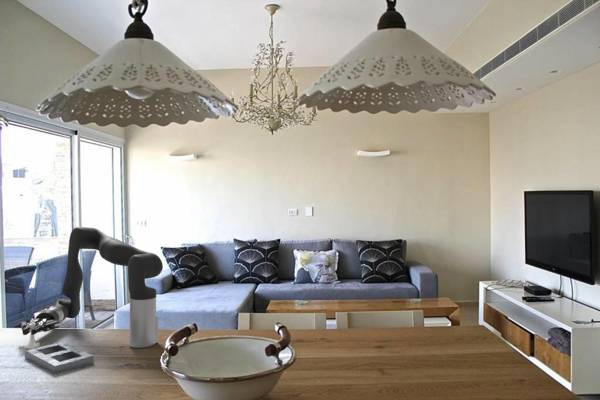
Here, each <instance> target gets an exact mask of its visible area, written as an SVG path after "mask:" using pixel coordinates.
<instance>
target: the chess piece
mask: <svg viewBox="0 0 600 400" xmlns="http://www.w3.org/2000/svg"><path fill="white" fill-rule="evenodd" d="M29 321H30V322H31V324H29V326H30V329H31V330H32V328H34V327H35V325H36V324H35V323H33V321H35V319H34V318H31V319H30V320H29ZM30 322H29V323H30ZM31 330H29V332H30V333H29V334H30V336H29V341H28V343H25V344H24V346H23V348H24V349H26V350H29V349H33V348H38V347H41V344H40V342H37V341H36V338H35V334H34V335H31Z"/></svg>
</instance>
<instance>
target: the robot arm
mask: <svg viewBox="0 0 600 400" xmlns="http://www.w3.org/2000/svg"><path fill="white" fill-rule="evenodd" d="M81 250H97V251H98V252H99V256H100V257H101V258H102V259H103V260H104V261H106V262H109V263H111V264H114V265H117V266H122V267H123V266H124V267H127V284H128V285H127V286H128V291H129V326H128V327H129V333H128V334H129V335H128V339H129V340H128V345H129V347H131V348H137V349H138V348H139V349H140V348H149V347H152V346H154V345H155V344H156V343H157V342H158V343H159V317H158V316H157V289H156V288H154V287H150V286H147V285H146V280H147V279H152V278H156V277H158V276H159V275H160V274H161V273H162V271H163V265H164V264H163V261H162V259H161V258H160V256H159V255H158V254H156V253H154V252H150V251H145V250H142V249H139V248H137V247H135V246H133V245H131V244H128V243H126V242H124V241H122V240H119V239H118V238H114V237H112V236H108V235H106V233H104V232H102V231H101V230H100V229H98V228H95V227H86V226H85V227H84V226H75V227H74V228H73V229H72V230H71V232H70V235H69V240H68V249H67V258H66V259H67V261H66V272H65V277H64V280H63V283H62V284H63V285H62V288H61V295H63V296H65V297H67V298H69V299H64V298H59V299H56V300H55V302H54V303H53V305H52V307H50V308H47V309H46V310H43V311H42V312H40V313H38V314H37V315H36V317H35V318H34V320H35V321H33V323H35V324H36V325H35V327H34V328H32V330H31V329H30V326H29V324H31V322H27V321H21V331H22V332H21V333H22V335H23V336H27V335H28V334H31V335H34V336H35V335H36V334H38V333H42V332H45V333H47V332H49V331H52V330H56V329H59V327H60V324H61V323H62V322H63V321H65V320H66V319H67V318H68V319H75V318H76V317H78V315H79V314H80V311H81V297H80V296H81V288H82V287H83V286H82V285H83V282H84V272H83V268H82V267H81V264H80V260H79V254H80V253H79V252H80V251H81ZM29 330H31V332H29Z"/></svg>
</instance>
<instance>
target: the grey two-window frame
mask: <svg viewBox="0 0 600 400" xmlns="http://www.w3.org/2000/svg"><path fill="white" fill-rule="evenodd" d="M24 358H25V359H26V360H27V361H29V362H32V363H33V364H35V365H37V366H39V367H41V368H43V369H44V370H46V371H48V372H50V373H52V374H53V375H58V374H61V373H64V372H68V371H72V370H76V369H79V368H82V367H85V366H89V365H93V364H94V361H95V357H94V355H93V354H91V353H89V352H87V351H84V350H82V349H80V348H77V347H75V346H73V345H71V344H69V343H67V342H64V341H60V342H56V343H51V344H47V345H43V346H39V347H37V348H32V349H26V350H24Z"/></svg>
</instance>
